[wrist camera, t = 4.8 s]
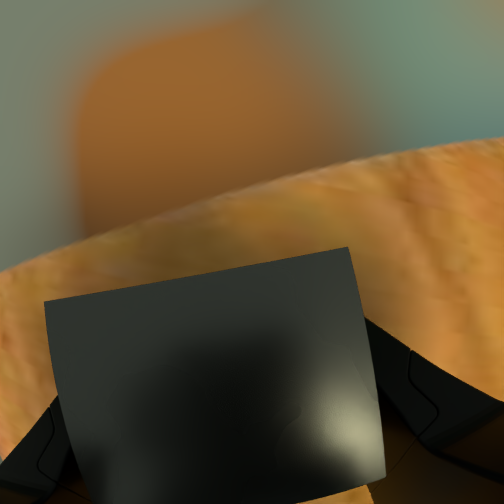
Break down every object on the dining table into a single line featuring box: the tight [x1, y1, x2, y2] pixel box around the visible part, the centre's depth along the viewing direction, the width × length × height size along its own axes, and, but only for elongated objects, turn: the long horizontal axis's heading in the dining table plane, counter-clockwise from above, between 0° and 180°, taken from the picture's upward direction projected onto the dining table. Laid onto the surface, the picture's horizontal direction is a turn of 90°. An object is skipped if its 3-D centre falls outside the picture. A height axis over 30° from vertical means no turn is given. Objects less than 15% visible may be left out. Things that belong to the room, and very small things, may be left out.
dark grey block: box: [44, 247, 386, 504], centre depth 9 cm, size 4×4×11 cm
